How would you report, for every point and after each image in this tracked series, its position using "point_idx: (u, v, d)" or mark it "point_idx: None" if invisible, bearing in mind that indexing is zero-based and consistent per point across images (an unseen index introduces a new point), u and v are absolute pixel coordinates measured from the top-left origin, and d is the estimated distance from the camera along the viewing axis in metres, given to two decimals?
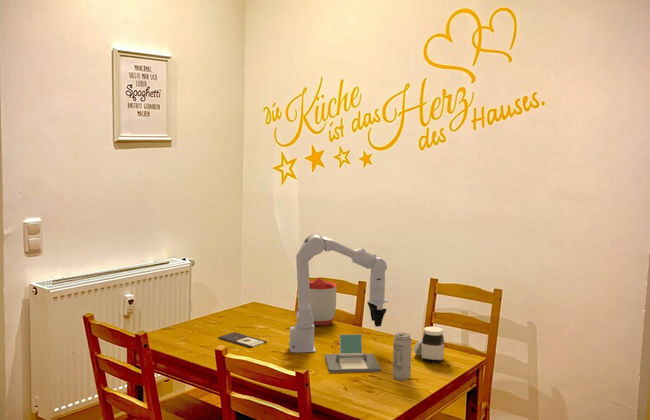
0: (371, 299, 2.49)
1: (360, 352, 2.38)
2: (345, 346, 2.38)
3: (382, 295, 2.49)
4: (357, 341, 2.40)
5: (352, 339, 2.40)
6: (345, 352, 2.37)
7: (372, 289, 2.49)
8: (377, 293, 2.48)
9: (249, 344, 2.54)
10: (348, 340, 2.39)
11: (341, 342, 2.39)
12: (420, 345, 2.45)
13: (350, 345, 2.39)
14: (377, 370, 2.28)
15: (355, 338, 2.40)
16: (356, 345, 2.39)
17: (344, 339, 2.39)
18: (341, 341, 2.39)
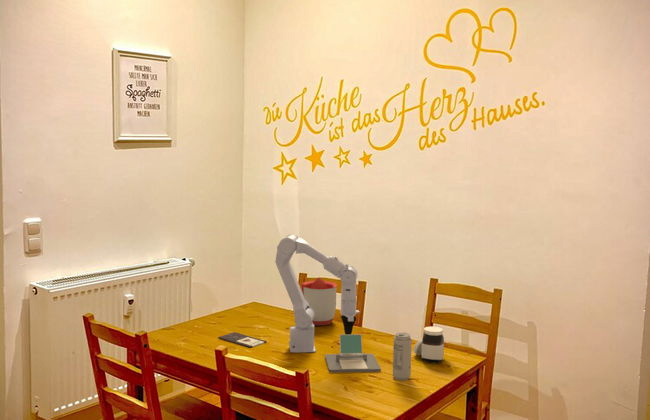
0: (343, 311, 2.45)
1: (360, 352, 2.38)
2: (345, 346, 2.38)
3: (353, 306, 2.44)
4: (357, 341, 2.40)
5: (352, 339, 2.40)
6: (345, 352, 2.37)
7: (343, 300, 2.44)
8: (348, 304, 2.44)
9: (249, 344, 2.54)
10: (348, 340, 2.39)
11: (341, 342, 2.39)
12: (420, 345, 2.45)
13: (350, 345, 2.39)
14: (377, 370, 2.28)
15: (355, 338, 2.40)
16: (356, 345, 2.39)
17: (344, 339, 2.39)
18: (341, 341, 2.39)
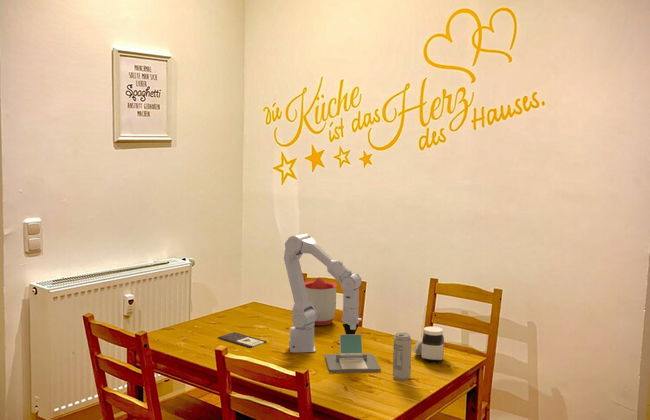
0: (345, 318, 2.39)
1: (360, 352, 2.38)
2: (345, 346, 2.38)
3: (356, 314, 2.39)
4: (357, 341, 2.39)
5: (352, 339, 2.40)
6: (345, 352, 2.37)
7: (345, 308, 2.38)
8: (350, 311, 2.38)
9: (249, 344, 2.54)
10: (348, 340, 2.39)
11: (341, 342, 2.39)
12: (420, 345, 2.45)
13: (350, 345, 2.39)
14: (377, 370, 2.28)
15: (355, 338, 2.40)
16: (356, 345, 2.39)
17: (344, 339, 2.39)
18: (341, 341, 2.39)
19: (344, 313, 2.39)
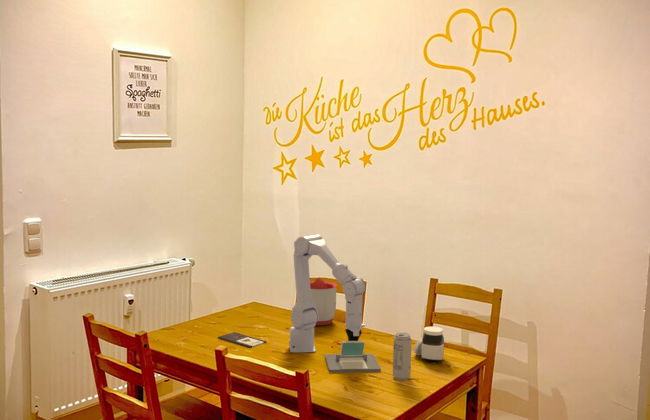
0: (348, 324, 2.32)
1: (361, 354, 2.37)
2: (347, 350, 2.35)
3: (359, 320, 2.32)
4: (360, 347, 2.34)
5: (354, 345, 2.33)
6: (345, 354, 2.36)
7: (348, 313, 2.32)
8: (353, 317, 2.31)
9: (249, 344, 2.54)
10: (350, 346, 2.34)
11: (343, 348, 2.34)
12: (420, 345, 2.45)
13: (351, 349, 2.35)
14: (377, 370, 2.28)
15: (357, 344, 2.33)
16: (358, 350, 2.35)
17: (346, 346, 2.33)
18: (343, 347, 2.34)
19: (347, 319, 2.33)
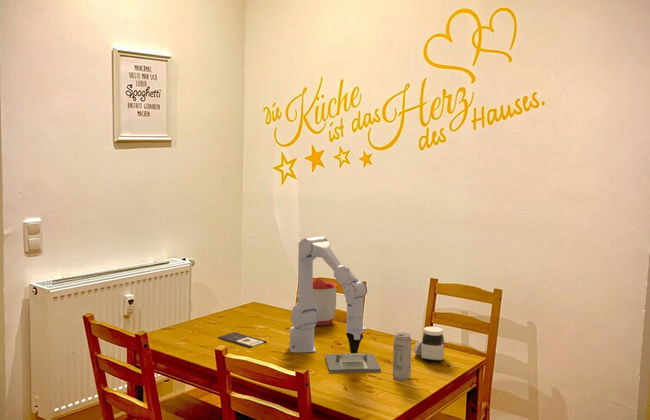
0: (348, 328, 2.28)
1: None
2: None
3: (360, 323, 2.28)
4: (360, 355, 2.32)
5: None
6: (346, 357, 2.36)
7: (349, 317, 2.28)
8: (354, 321, 2.27)
9: (249, 344, 2.54)
10: (351, 356, 2.32)
11: (343, 356, 2.32)
12: (420, 345, 2.45)
13: (352, 356, 2.33)
14: (377, 370, 2.28)
15: (358, 355, 2.31)
16: (358, 356, 2.34)
17: (347, 356, 2.31)
18: (343, 356, 2.32)
19: (348, 322, 2.28)
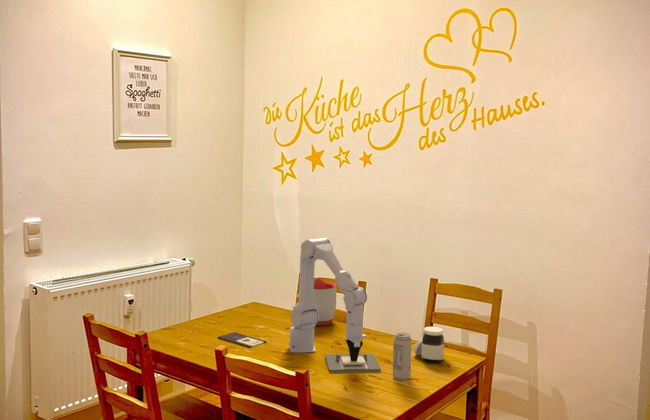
0: (348, 335, 2.28)
1: None
2: None
3: (360, 330, 2.28)
4: None
5: None
6: None
7: (349, 324, 2.28)
8: (354, 328, 2.27)
9: (248, 344, 2.54)
10: None
11: None
12: (420, 345, 2.45)
13: None
14: (377, 370, 2.28)
15: None
16: None
17: None
18: None
19: (348, 329, 2.29)
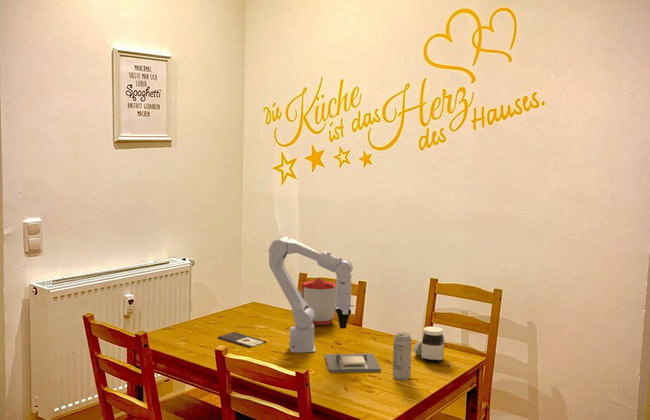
0: (337, 303, 2.44)
1: None
2: None
3: (348, 299, 2.44)
4: None
5: None
6: None
7: (338, 293, 2.44)
8: (342, 297, 2.43)
9: (248, 344, 2.54)
10: None
11: None
12: (420, 345, 2.45)
13: None
14: (377, 370, 2.28)
15: None
16: None
17: None
18: None
19: (337, 298, 2.44)
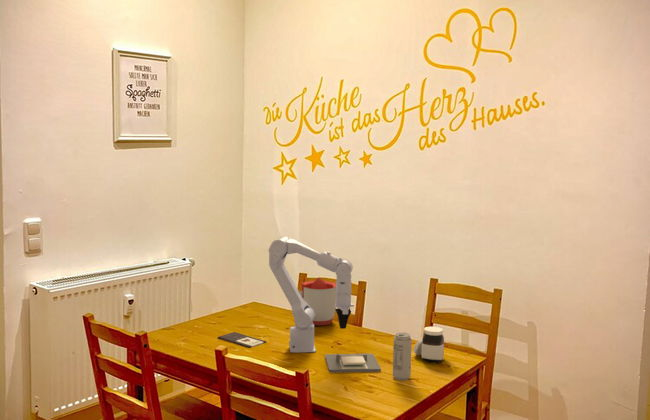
0: (337, 303, 2.44)
1: None
2: None
3: (348, 299, 2.44)
4: None
5: None
6: None
7: (338, 293, 2.44)
8: (342, 297, 2.43)
9: (248, 344, 2.54)
10: None
11: None
12: (420, 345, 2.45)
13: None
14: (377, 370, 2.28)
15: None
16: None
17: None
18: None
19: (337, 298, 2.44)
